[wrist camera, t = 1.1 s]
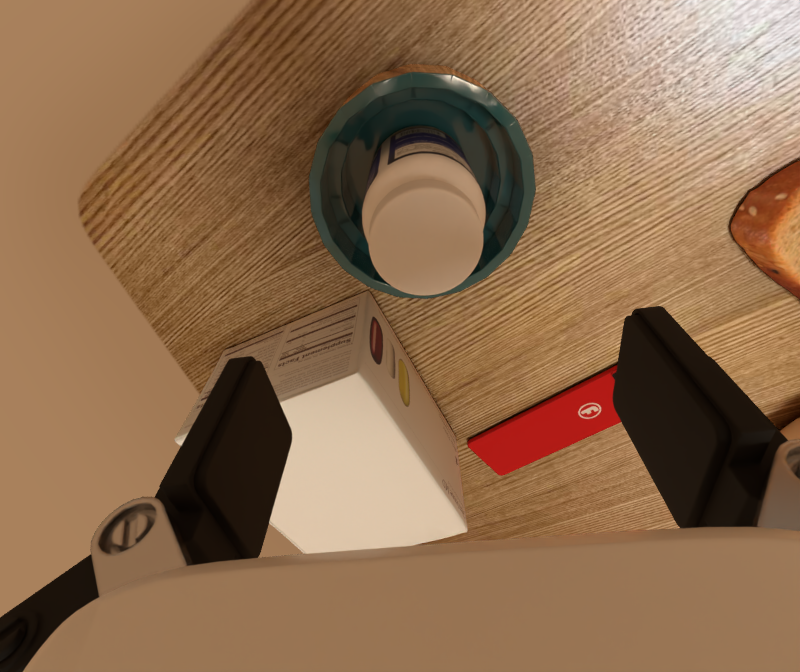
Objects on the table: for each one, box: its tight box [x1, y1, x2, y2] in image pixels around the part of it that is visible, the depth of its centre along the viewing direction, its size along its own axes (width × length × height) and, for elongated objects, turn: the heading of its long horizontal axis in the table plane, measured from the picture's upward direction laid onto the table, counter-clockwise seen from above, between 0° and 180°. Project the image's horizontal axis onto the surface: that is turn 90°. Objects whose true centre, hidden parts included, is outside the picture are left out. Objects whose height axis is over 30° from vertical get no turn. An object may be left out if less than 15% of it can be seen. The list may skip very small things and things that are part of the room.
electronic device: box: [467, 365, 621, 475], centre depth 38 cm, size 6×1×15 cm
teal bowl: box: [309, 64, 536, 299], centre depth 24 cm, size 11×11×5 cm
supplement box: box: [175, 291, 468, 554], centre depth 33 cm, size 17×13×9 cm
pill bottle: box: [362, 126, 486, 296], centre depth 22 cm, size 6×6×10 cm
